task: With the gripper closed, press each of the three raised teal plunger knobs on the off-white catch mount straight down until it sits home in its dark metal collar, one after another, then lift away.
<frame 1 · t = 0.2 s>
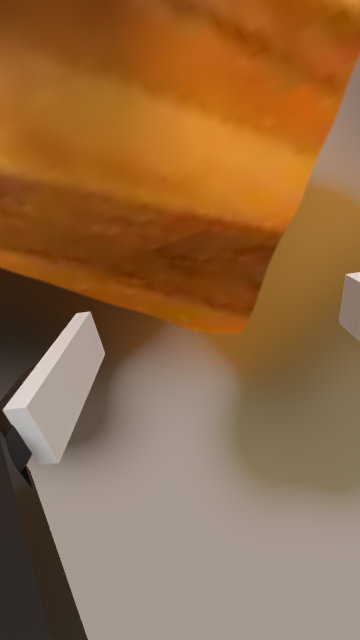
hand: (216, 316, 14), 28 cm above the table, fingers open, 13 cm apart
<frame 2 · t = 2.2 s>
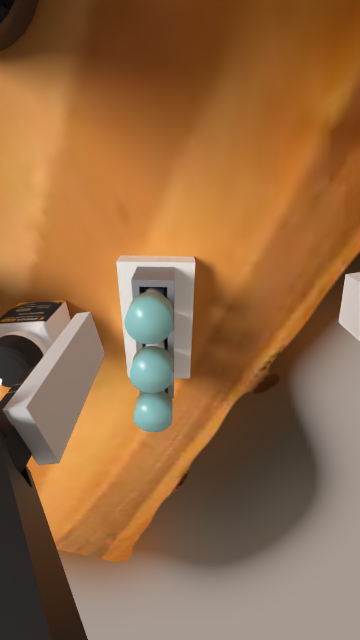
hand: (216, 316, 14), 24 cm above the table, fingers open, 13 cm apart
medicine bottle: (49, 321, 41), on the table
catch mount: (158, 317, 40), on the table
knob 1: (152, 307, 28), point 10 cm above the table, slide at 0.0 cm
knob 3: (155, 395, 35), point 10 cm above the table, slide at 0.0 cm
knob 2: (153, 355, 32), point 10 cm above the table, slide at 0.0 cm
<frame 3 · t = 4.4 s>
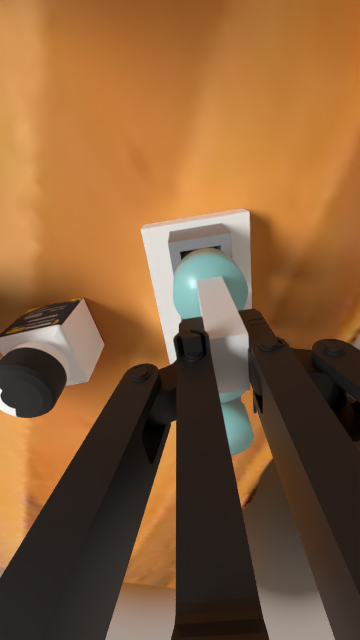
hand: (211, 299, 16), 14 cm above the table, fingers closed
medicine bottle: (69, 326, 33), on the table
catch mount: (203, 301, 31), on the table
knob 1: (204, 275, 19), point 10 cm above the table, slide at 0.3 cm, touching gripper
knob 3: (219, 404, 25), point 10 cm above the table, slide at 0.0 cm
knob 2: (213, 349, 22), point 10 cm above the table, slide at 0.0 cm
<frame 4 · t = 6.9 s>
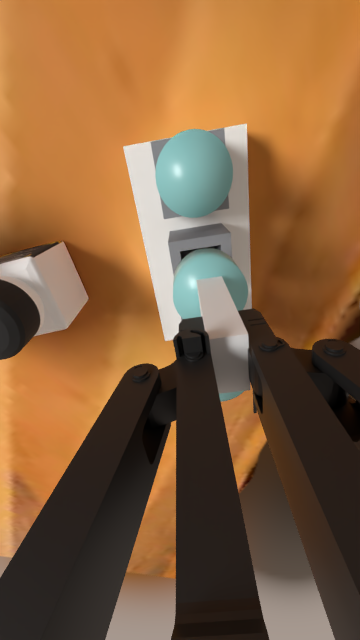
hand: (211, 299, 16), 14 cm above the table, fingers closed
medicine bottle: (49, 277, 30), on the table
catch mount: (196, 245, 28), on the table
knob 1: (191, 177, 19), point 7 cm above the table, slide at 3.0 cm
knob 3: (213, 348, 22), point 10 cm above the table, slide at 0.0 cm
knob 2: (204, 275, 19), point 10 cm above the table, slide at 0.1 cm, touching gripper
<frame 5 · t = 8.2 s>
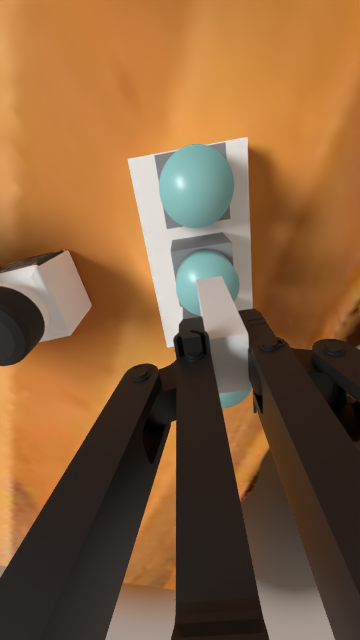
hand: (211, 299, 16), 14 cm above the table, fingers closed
medicine bottle: (53, 284, 30), on the table
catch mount: (198, 254, 29), on the table
knob 1: (193, 188, 19), point 7 cm above the table, slide at 3.0 cm
knob 3: (214, 355, 23), point 10 cm above the table, slide at 0.0 cm
knob 2: (203, 272, 22), point 7 cm above the table, slide at 3.0 cm
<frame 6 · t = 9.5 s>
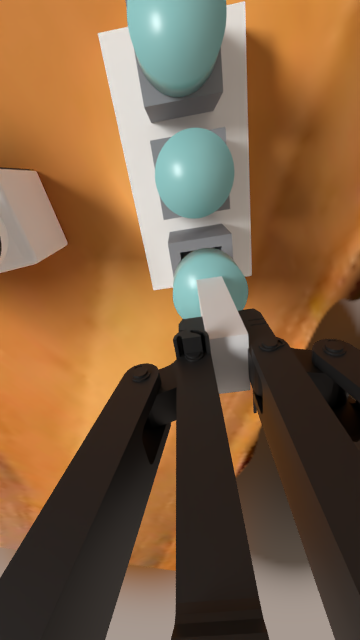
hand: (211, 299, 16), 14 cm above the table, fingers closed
medicine bottle: (22, 217, 26), on the table
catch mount: (188, 177, 25), on the table
knob 1: (177, 52, 15), point 7 cm above the table, slide at 3.0 cm
knob 3: (204, 275, 19), point 9 cm above the table, slide at 0.6 cm, touching gripper
knob 2: (191, 176, 19), point 7 cm above the table, slide at 3.0 cm
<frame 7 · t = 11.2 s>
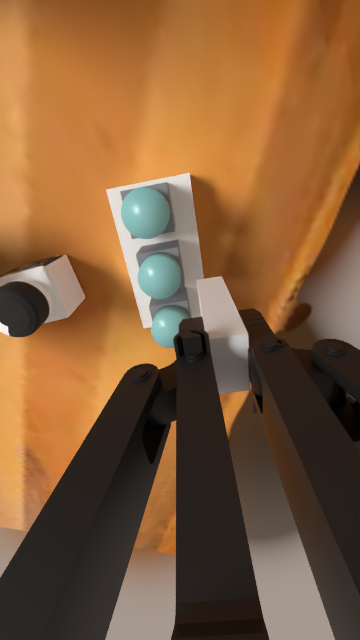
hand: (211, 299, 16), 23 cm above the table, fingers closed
medicine bottle: (55, 281, 40), on the table
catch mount: (164, 255, 37), on the table
knob 1: (149, 211, 28), point 7 cm above the table, slide at 3.0 cm
knob 3: (171, 317, 34), point 7 cm above the table, slide at 3.0 cm
knob 2: (161, 269, 31), point 7 cm above the table, slide at 3.0 cm
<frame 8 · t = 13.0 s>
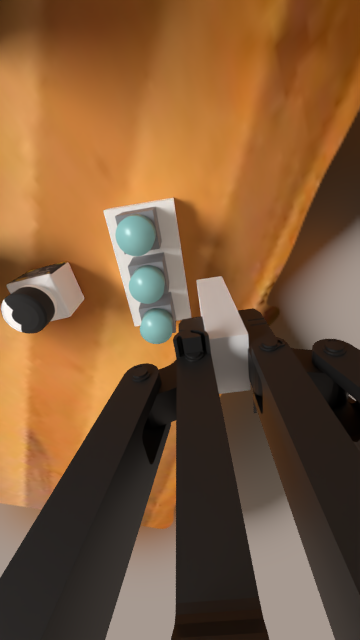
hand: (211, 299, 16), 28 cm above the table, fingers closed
medicine bottle: (58, 284, 46), on the table
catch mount: (153, 264, 44), on the table
knob 1: (139, 231, 35), point 7 cm above the table, slide at 3.0 cm
knob 3: (158, 317, 41), point 7 cm above the table, slide at 3.0 cm
knob 2: (149, 278, 38), point 7 cm above the table, slide at 3.0 cm
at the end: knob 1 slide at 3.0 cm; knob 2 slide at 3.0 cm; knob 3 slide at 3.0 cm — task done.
